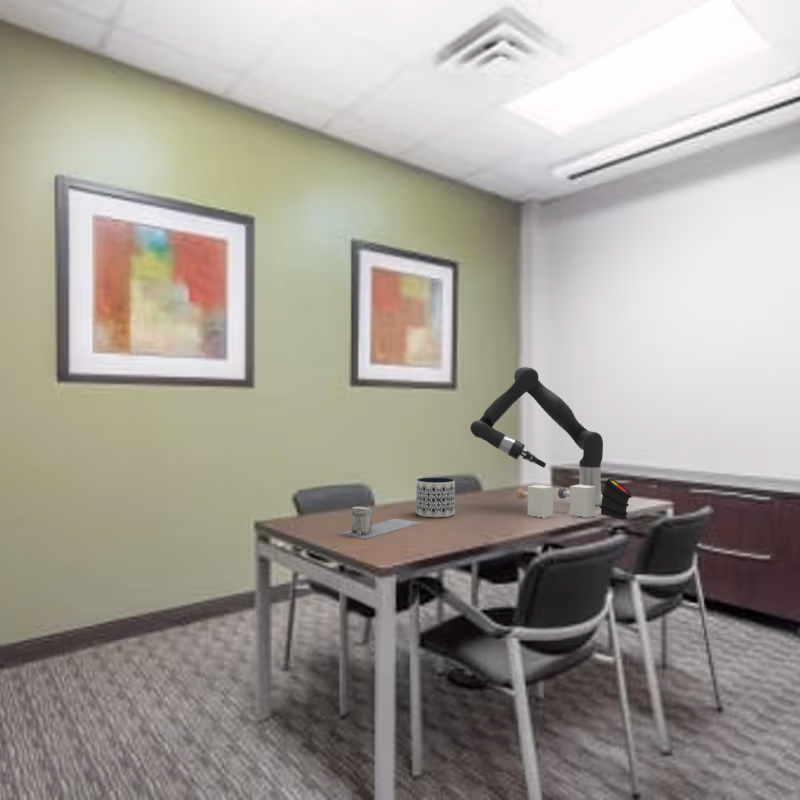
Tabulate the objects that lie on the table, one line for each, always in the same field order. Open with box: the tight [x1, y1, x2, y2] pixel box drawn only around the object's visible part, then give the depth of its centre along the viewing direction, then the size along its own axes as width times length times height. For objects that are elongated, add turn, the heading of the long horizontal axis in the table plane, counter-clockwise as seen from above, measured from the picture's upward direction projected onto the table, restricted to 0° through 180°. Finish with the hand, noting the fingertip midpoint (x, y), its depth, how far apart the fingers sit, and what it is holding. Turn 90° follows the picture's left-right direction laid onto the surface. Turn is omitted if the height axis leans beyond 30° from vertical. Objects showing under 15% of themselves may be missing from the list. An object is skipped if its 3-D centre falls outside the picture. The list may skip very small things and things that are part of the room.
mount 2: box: [569, 484, 596, 518], centre depth 246 cm, size 7×8×12 cm
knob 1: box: [516, 487, 528, 500], centre depth 249 cm, size 4×8×4 cm, turn 42°
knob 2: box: [557, 487, 570, 500], centre depth 250 cm, size 4×8×4 cm, turn 42°
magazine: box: [599, 478, 632, 519], centre depth 244 cm, size 4×13×15 cm, turn 28°
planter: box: [415, 476, 456, 519], centre depth 247 cm, size 16×16×14 cm
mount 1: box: [527, 484, 554, 518], centre depth 244 cm, size 7×8×12 cm
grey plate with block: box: [338, 505, 422, 540], centre depth 219 cm, size 12×33×10 cm, turn 143°
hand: (544, 465), depth 257 cm, fingers open, 8 cm apart
